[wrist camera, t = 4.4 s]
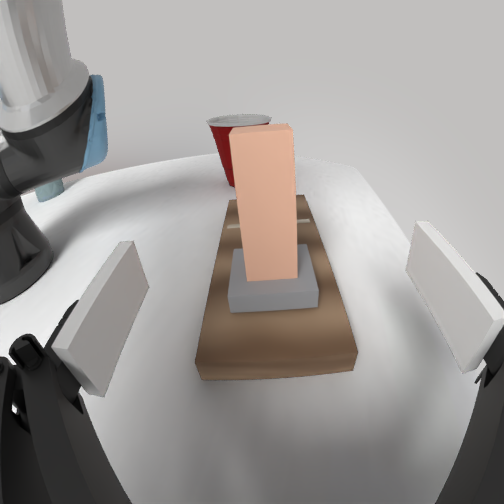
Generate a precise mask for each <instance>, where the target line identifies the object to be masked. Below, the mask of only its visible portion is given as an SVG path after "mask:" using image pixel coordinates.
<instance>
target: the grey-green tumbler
mask: <svg viewBox="0 0 504 504" xmlns="http://www.w3.org/2000/svg"><path fill="white" fill-rule="evenodd" d="M63 191H64V187H63V182H62V180H61V179H59V180H56V181H53V182H51V183H48V184H45V185H43V186H40V187H38V188H35V192H36V195H37V198H38V201H39V202H44V201H47V200H49V199H52V198H54V197H56V196H58V195H59V194H61V193H62V192H63Z"/></svg>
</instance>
